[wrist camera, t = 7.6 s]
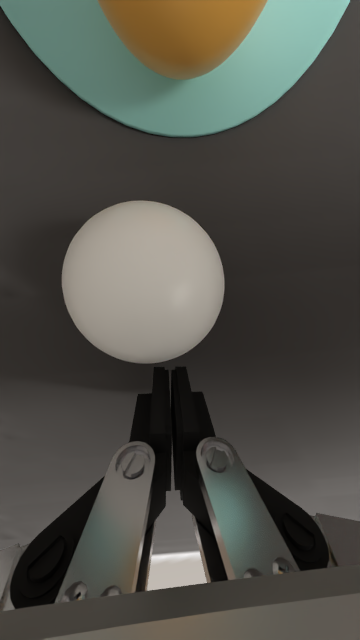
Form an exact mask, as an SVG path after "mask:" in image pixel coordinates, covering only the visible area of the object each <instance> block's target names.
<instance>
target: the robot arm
mask: <svg viewBox="0 0 360 640" xmlns="http://www.w3.org/2000/svg"><path fill="white" fill-rule="evenodd" d="M172 445H173V463H174V481H175V490H180V495H181V500H183V505H184V506H185V507H186V508H187V509H188V510H189V511H190V512H191V513H192V520H193V524H194V529H195V533H196V537H197V542H198V546H199V550H200V555H201V559H202V563H203V567H204V572H205V576H206V580H207V583H204V584H196V585H189V586H181V587H174V588H166V589H159V590H151V591H147V585H148V577H149V570H150V563H151V556H152V549H153V541H154V534H155V527H156V518H157V517H158V516H159V514H160V513H161V512H162V510H163V509H164V508H165V506H166V491H171V454H172ZM0 640H360V521H355V520H350V519H344V518H339V517H334V516H329V515H324V514H319V513H316V516H311V515H309V514H308V513H306V512H305V511H304V510H303V509H302V508H300V507H299V506H298V505H296V504H295V503H293V502H292V501H291V500H289V499H288V498H286V497H285V496H283V495H282V494H281V493H279V492H278V491H276V490H275V489H274V488H272V487H271V486H269V485H268V484H267V483H265V482H264V481H262V480H261V479H260V478H258V477H257V476H255V475H254V474H252V473H251V472H250V471H248V470H247V469H245V467H244V465H243V463H242V461H241V460H240V458H239V456H238V454H237V452H236V450H235V449H234V448H233V446H232V445H231V444H230V443H228V442H227V441H226V440H224V439H222V438H218V437H216V435H215V432H214V429H213V425H212V422H211V419H210V415H209V412H208V409H207V405H206V402H205V399H204V395H203V393H202V392H191V388H190V383H189V379H188V374H187V369H186V367H175V370H172V373H171V407H170V389H169V371H168V370H164V367H154V375H153V389H152V393H151V394H138V397H137V402H136V408H135V413H134V419H133V425H132V430H131V436H130V441H129V443H127V444H125V445H124V446H122V447H121V448H120V449H119V450H118V451H117V452H116V453H115V455H114V456H113V458H112V460H111V463H110V465H109V468H108V470H107V473H106V475H105V476H104V477H103V478H102V479H101V480H100V481H99V482H97V483H96V484H95V485H94V486H93V487H92V488H91V489H90V490H88V491H87V492H86V493H85V494H84V495H83V496H82V497H80V498H79V499H78V500H77V501H76V502H75V503H74V504H73V505H71V506H70V507H69V508H68V509H67V510H66V511H65V512H63V513H62V514H61V515H60V516H59V517H58V518H57V519H56V520H54V521H53V522H52V523H51V524H50V525H49V526H48V527H46V528H45V529H44V530H43V531H42V532H41V533H40V534H39V535H38V536H37V537H36V538H35V539H34V540H33V541H32V542H31V543H29V544H27V545H24V546H21V547H20V545H19V543H18V544H15V545H13V546H10V547H7V548H5V549H2V550H0Z"/></svg>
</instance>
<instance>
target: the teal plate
mask: <svg viewBox="0 0 360 640" xmlns="http://www.w3.org/2000/svg"><path fill="white" fill-rule="evenodd" d="M349 2H350V0H268V1H267V3H266V5H265V7H264V9H263V11H262V12H261V14H260V16H259V17H258V19H257V21H256V22H255V24H254V26H253V27H252V29H251V31H250V32H249V34H248V35H247V36H246V38H245V39H244V40H243V42H242V43H241V44H240V45H239V47H238V48H237V49H236V50H235V51H234V52H233V53H232V54H231V55H230V56H229V57H228V58H227V59H226V60H225V61H224V62H223V63H222V64H221V65H219V66H218V67H216V68H215V69H213V70H212V71H210V72H209V73H207V74H205V75H202V76H199V77H196V78H192V79H186V80H178V79H171V78H167V77H164V76H162V75H160V74H158V73H156V72H154V71H152V70H151V69H149V68H147V67H146V66H145V65H143V64H142V63H141V62H140V61H139V60H138V59H137V58H136V57H135V56H134V55H133V54H132V53H131V52H130V51H129V50H128V49H127V47H126V46H125V45H124V44H123V42H122V41H121V40H120V38H119V37H118V36H117V34H116V33H115V31H114V30H113V28H112V26H111V25H110V23H109V21H108V20H107V18H106V16H105V15H104V13H103V11H102V9H101V7H100V5H99V3H98V1H97V0H0V6H1V8H2V9H3V11H4V12H5V14H6V16H7V17H8V19H9V20H10V22H11V23H12V25H13V26H14V27H15V29H16V30H17V31H18V33H19V34H20V35H21V37H22V38H23V39H24V40H25V42H26V43H27V44H28V46H29V47H30V48H31V50H32V51H33V52H34V54H35V55H36V56H37V57H38V58H39V59H40V60H41V61H42V62H43V63H44V64H45V65H46V67H47V68H48V69H49V70H50V71H51V72H52V73H53V74H54V75H55V76H56V77H57V78H58V79H59V80H60V81H61V82H62V83H63V84H64V85H66V86H67V87H68V88H69V89H70V90H71V91H73V92H74V93H75V94H76V95H77V96H78V97H79V98H81V99H82V100H83V101H85V102H86V103H88V104H89V105H91V106H92V107H94V108H95V109H97V110H98V111H100V112H101V113H103V114H104V115H106V116H108V117H110V118H112V119H114V120H116V121H118V122H120V123H122V124H124V125H126V126H129V127H132V128H135V129H138V130H141V131H144V132H147V133H150V134H155V135H161V136H167V137H199V136H205V135H211V134H216V133H219V132H222V131H225V130H228V129H231V128H234V127H236V126H238V125H240V124H242V123H244V122H246V121H248V120H250V119H252V118H254V117H256V116H257V115H258V114H260V113H261V112H263V111H264V110H265V109H267V108H268V107H270V106H271V105H272V104H274V103H275V102H276V101H277V100H278V99H279V98H280V97H282V96H283V95H284V94H285V93H286V92H287V91H288V90H289V89H290V88H291V87H292V86H293V85H294V84H295V83H296V82H297V81H298V79H299V78H300V77H301V76H302V75H303V73H304V72H305V71H306V70H307V69H308V68H309V66H310V65H311V64H312V63H313V61H314V60H315V59H316V57H317V56H318V54H319V53H320V51H321V50H322V48H323V47H324V45H325V44H326V42H327V41H328V39H329V38H330V36H331V35H332V34H333V32H334V30H335V28H336V26H337V24H338V23H339V21H340V19H341V17H342V15H343V13H344V11H345V10H346V8H347V6H348V4H349Z"/></svg>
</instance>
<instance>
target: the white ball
mask: <svg viewBox="0 0 360 640" xmlns="http://www.w3.org/2000/svg"><path fill="white" fill-rule="evenodd" d="M62 290H63V295H64V300H65V304H66V307H67V310H68V312H69V314H70V316H71V318H72V320H73V322H74V324H75V325H76V327H77V328H78V329H79V331H80V332H81V333H82V334H83V335H84V336H85V337H86V338H87V340H88V341H89V342H91V343H92V344H93V345H94V346H95V347H97V348H98V349H100V350H101V351H103V352H105V353H107V354H108V355H110V356H113V357H115V358H117V359H120V360H124V361H128V362H133V363H142V364H149V363H159V362H164V361H168V360H170V359H173V358H176V357H178V356H181V355H183V354H185V353H186V352H188V351H189V350H191V349H192V348H194V347H195V346H196V345H197V344H199V343H200V342H201V341H202V340H203V339H204V337H205V336H206V335H207V334H208V333H209V331H210V330H211V328H212V327H213V325H214V324H215V322H216V319H217V317H218V315H219V313H220V310H221V307H222V303H223V297H224V290H225V284H224V272H223V266H222V263H221V259H220V256H219V254H218V251H217V249H216V247H215V245H214V243H213V241H212V240H211V239H210V237H209V236H208V234H207V233H206V232H205V231H204V230H203V228H202V227H201V226H200V225H199V224H198V223H197V222H196V221H194V220H193V219H192V218H191V217H190V216H188V215H187V214H185V213H183V212H182V211H180V210H178V209H176V208H174V207H171V206H169V205H166V204H162V203H158V202H153V201H144V200H141V201H128V202H123V203H119V204H116V205H113V206H111V207H108V208H106V209H104V210H102V211H101V212H99V213H97V214H95V215H94V216H93V217H92V218H90V219H89V220H88V221H87V222H86V223H85V224H84V225H83V226H82V227H81V229H80V230H79V231H78V232H77V233H76V235H75V236H74V238H73V240H72V241H71V243H70V245H69V248H68V250H67V253H66V256H65V259H64V263H63V269H62Z"/></svg>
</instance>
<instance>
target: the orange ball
mask: <svg viewBox="0 0 360 640" xmlns="http://www.w3.org/2000/svg"><path fill="white" fill-rule="evenodd" d="M97 1H98V3H99V5H100V7H101V9H102V11H103V13H104V15H105V16H106V18H107V20H108V21H109V23H110V25H111V26H112V28H113V30H114V31H115V33H116V34H117V36H118V37H119V38H120V40H121V41H122V42H123V44H124V45H125V46H126V47H127V49H128V50H129V51H130V52H131V53H132V54H133V55H134V56H135V57H136V58H137V59H138V60H139V61H140V62H141V63H142V64H143V65H145V66H146V67H147V68H149V69H151V70H152V71H154V72H156V73H158V74H160V75H162V76H164V77H167V78H171V79H178V80H186V79H192V78H196V77H199V76H202V75H205V74H207V73H209V72H210V71H212V70H213V69H215V68H216V67H218V66H219V65H221V64H222V63H223V62H224V61H225V60H226V59H227V58H228V57H229V56H230V55H231V54H232V53H233V52H234V51H235V50H236V49H237V48H238V47H239V45H240V44H241V43H242V42H243V40H244V39H245V38H246V36H247V35H248V34H249V32H250V31H251V29H252V27H253V26H254V24H255V22H256V21H257V19H258V17H259V16H260V14H261V12H262V11H263V9H264V7H265V5H266V3H267V1H268V0H97Z"/></svg>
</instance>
